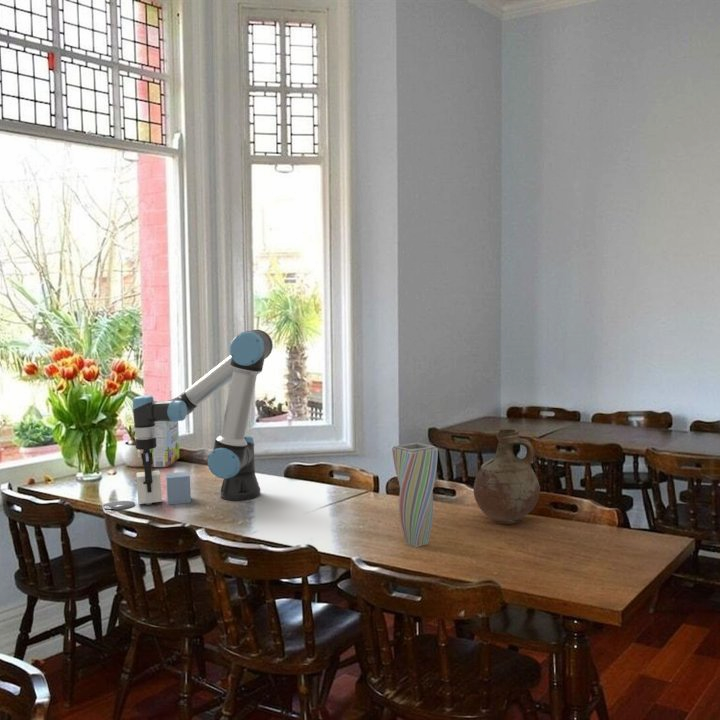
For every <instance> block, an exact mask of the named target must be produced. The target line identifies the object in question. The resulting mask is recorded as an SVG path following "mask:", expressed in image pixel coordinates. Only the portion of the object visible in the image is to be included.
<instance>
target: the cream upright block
mask: <svg viewBox="0 0 720 720" xmlns="http://www.w3.org/2000/svg"><path fill="white" fill-rule="evenodd" d="M151 471H152V480H153V482H152V483H153V495H154V501H146V490H145V484H143V482H145V471H141V472H140V471H139V472H136V473H135V474H136V486H137V487H136V489H137V503H138V505H139V504H140V505H141V504H143V505H144V504H145V503H152V504H153V503H159V502H161V503H162V502H163V499H162V498H163V497H162V485H161V484H162V483H161V472H160V470H151ZM147 480H149V479H147Z"/></svg>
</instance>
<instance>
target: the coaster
mask: <svg viewBox="0 0 720 720" xmlns="http://www.w3.org/2000/svg"><path fill="white" fill-rule="evenodd" d="M104 506H109V507H111V508H113V509H116V510H115V511H121V510H122V511H123V510H127V509H132V508H133V507H135V506H136V503H135V501H131V500H116V501H112V502H108V503H106V504H104V505H103V507H104Z"/></svg>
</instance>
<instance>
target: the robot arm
mask: <svg viewBox="0 0 720 720" xmlns="http://www.w3.org/2000/svg"><path fill="white" fill-rule="evenodd" d="M273 346H274V344H273V340H272V338H271V336H270V335H269V334H268V333H267V332H266V331H264V330H261V329H253V330H245V331H241V332H240V333H238V334H237V335H236V336H235V337H234V338H233V339H232V340H231V343H230V345H229V352H230V355H229V356H227V357H226V358H225V359H224V360H222V361H221V362H220V363H219V364H218V365H216V366H215V367H213V368H212V369H211V370H210V371H208V373H206V374H205V375H203V376H202V377H200V378H199V379H198V380H197V381H196V382H195V383H194V384H192V385H190V387H188V388H187V389H185V391H183V392H182V393H181V394H179V395H178V396H177V397H175V398H172V399H168V400H163V401H162V400H159V401H157V400H154V397H153V396H152V395H139V396H134V398H132V413H133V414H132V415H133V426H134V429H132V433H134V438H136V439H135V440H134V441H135V449H136V450H138V451H139V450H140V451H141V450H142V452H141V453H140V456H141V460H142V461H141V462H142V466H143V467H144V469H143V470H144V472H145V482H143V484H145V490H146V501H154V495H153V483H152V482H153V480H152V471H153V470H152V467H151V465H152V452H151V449H153V448H155V447H156V446H157V444H156V438H155V436H156V428H155V422H158V421H174V422H176V421H178V422H180V421H181V422H182V421H185V420H186V417H187V416H188V415H190V414H191V413H193V412H194V410H195V409H196V408H197V407H199V406H201V404H202V403H203V402H205V401H206V400H207V399H209V398H210V397H211V396H212V395H214V394H215V393H217V392H218V391H219V390H220V389H221V388H222V387H224V386H225V385H226V384H228V383H229V382H230V381H231V382H230V386H229V390H228V391H229V392H228V394H227V395H228V396H227V400H226V404H225V410H224V411H225V412H224V417H223V421H222V427H221V432H220V434H219V435H218V436H215V439H214V444H213V445H214V446H213V450H212V451H211V452H210V453H209V455H208V458H207V467H208V469H209V471H210V472H211V474H212V475H214V476H215V477H216V478H219V479H223V480H222V484H221V488H220V492H219V493H220V498H221V499H224V500H228V501H229V500H230V501H242V500H243V501H244V500H251V499H254V498H258V497H259V496H260V495H261V487H260V485H259V481H258V478H257V477H256V469H255V466H256V465H255V463H256V460H255V442H254V441H255V440H254V437H253V436H251V435H246V430H247V425H248V422H249V421H248V420H249V416H250V411H251V406H252V401H253V397H254V392H255V391H254V390H255V385H256V381H257V376H258V375H260V373H262V372H263V368H264V363H265V359H267V358H268V357H269V356H270V355H271V353H272V352H273V351H272V350H273ZM147 479H149V480H147Z"/></svg>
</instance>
